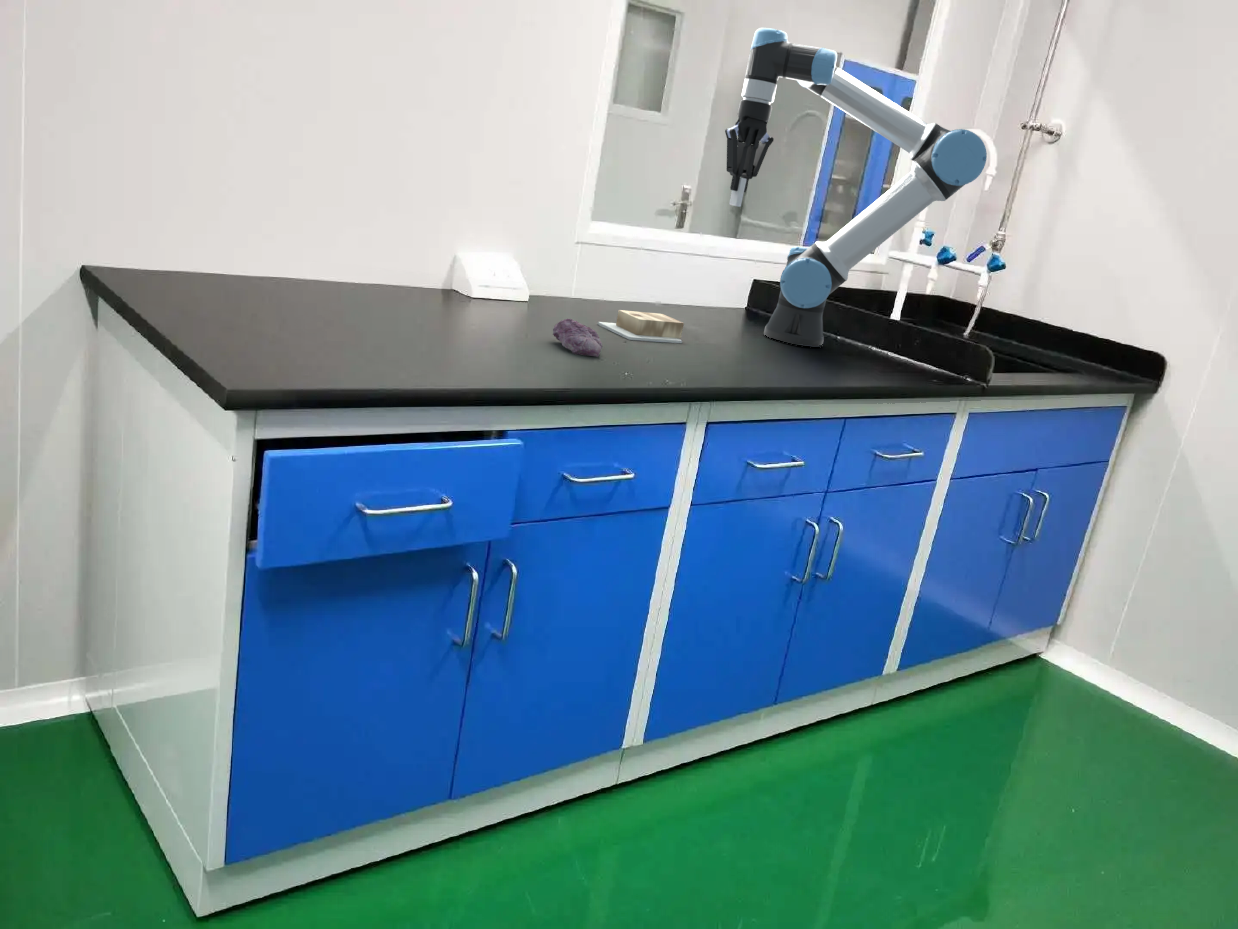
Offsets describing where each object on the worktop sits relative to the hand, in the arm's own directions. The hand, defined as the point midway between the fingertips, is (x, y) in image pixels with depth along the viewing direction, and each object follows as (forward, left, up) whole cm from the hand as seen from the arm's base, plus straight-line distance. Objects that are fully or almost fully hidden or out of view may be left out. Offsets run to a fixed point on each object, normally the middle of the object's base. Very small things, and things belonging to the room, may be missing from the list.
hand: (734, 205), depth 239 cm
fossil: (+52, +27, -31) cm, 67 cm away
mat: (+26, +9, -30) cm, 41 cm away
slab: (+18, +9, -28) cm, 34 cm away
